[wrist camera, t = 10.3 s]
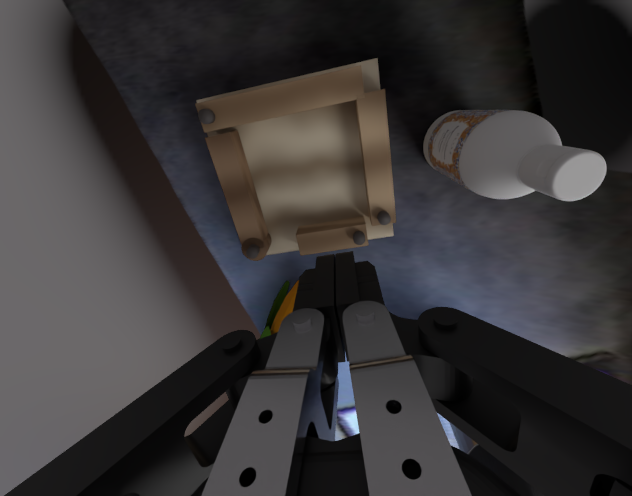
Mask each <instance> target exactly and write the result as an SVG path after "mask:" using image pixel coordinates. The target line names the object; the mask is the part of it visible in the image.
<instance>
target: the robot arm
mask: <svg viewBox="0 0 632 496" xmlns="http://www.w3.org/2000/svg"><path fill="white" fill-rule="evenodd" d="M335 256H336V259H335ZM345 352H346V357H347V361H349V363H350V365H349V367H350V374H351V380H352V387H353V393H354V399H355V406H356V412H357V419H358V425H359V432H360V433H359V434H356V435H353V436H351V437H348V438H345V439H342V440H339V441H335V429H336V415H337V401H338V387H339V381H338V377H337V375H338V362H345ZM224 392H226V394H227V396H228V398H229V400H228V401H227V402H226V403H225V404H224V405H223V406H222V407H220V408H219V409H218V410H217V411H216V412H215V413H214V414H213V415H212V416H211V417H209V418H208V419H207V420H206V421H205V422H204V423H203V424H202V425H201V426H199V427H198V428H197V429H196V430H195V431H194V432H193V433H192V434H190V435H189V436H186V437H184V434H185V430H186V428H187V426H188V425H189V424H190V422H191V421H192V420H193V419H194V418H196V416H198V415H199V414H200V413H201V412H202V411H204V410H205V409H206V408H207V407H208V406H209V405H210V404H212V403H213V402H214V401H215V400H216V399H217V398H218V397H220V395H222V394H223V393H224ZM436 412H437V413H439V414H440V415H441V416H442V417H444V418H445V419H446V420H448V421H449V422H450V425H451V428H452V430H453V433H454V436H455V438H456V441H457V444H458V446H459V449H460V450H459V449H457V448H455V447H453V446H450V443H449V441H448V439H447V436H446V434H445V431H444V429H443V427H442V424H441V422H440V420H439V417H438V415H437V413H436ZM4 496H632V385H630V384H628V383H625V382H623V381H621V380H618V379H616V378H614V377H611V376H609V375H607V374H605V373H602V372H600V371H598V370H595V369H593V368H591V367H588V366H586V365H584V364H582V363H579V362H577V361H575V360H572V359H570V358H568V357H566V356H563V355H561V354H559V353H556V352H554V351H552V350H549V349H547V348H545V347H543V346H540V345H538V344H536V343H533V342H531V341H529V340H526V339H524V338H522V337H520V336H517V335H515V334H513V333H510V332H508V331H506V330H503V329H501V328H499V327H497V326H494V325H492V324H490V323H487V322H485V321H483V320H480V319H478V318H476V317H474V316H471V315H469V314H467V313H464V312H462V311H460V310H457V309H453V308H448V307H436V308H431V309H428V310H426V311H425V312H423V313H422V314H421V315H420V316H419V319H418V320H413V319H405V318H401V317H398V316H395V315H393V314H392V313H390V312H389V311H388V309H387V308H386V307H385V305H384V301H383V297H382V293H381V289H380V285H379V282H378V278H377V274H376V270H375V266H373V265H372V264H371V263H370V262H368V261H364V262H357V263H355V261H354V255H353V251H351V252H344V253H337V254H336V255H334V254H331V255H324V256H318V257H317V259H316V267H315V269H309V270H305V272H304V273H303V274H302V275H301V276H300V278H299V283H298V288H297V293H296V297H295V302H294V307H293V312H292V313H290V314H288V315H287V316H286V317H285V318H284V319H283V321H282V322H281V325H280V328H279V331H278V332H276V333H274V334H272V335H269V336H266V337H264V338H261V339H258V340H256V338H255V335H254V334H253V333H252V332H250V331H247V330H238V331H234V332H231V333H228V334H226V335H224V336H223V337H221V338H220V339H218V340H217V341H216V342H214V343H213V344H211V345H210V346H209V347H207V348H206V349H205V350H203V351H202V352H201V353H199V354H198V355H196V356H195V357H194V358H192V359H191V360H190V361H188V362H187V363H185V364H184V365H183V366H181V367H180V368H179V369H177V370H176V371H175V372H173V373H172V374H170V375H169V376H168V377H166V378H165V379H163V380H162V381H161V382H159V383H158V384H157V385H155V386H154V387H152V388H151V389H150V390H148V391H147V392H146V393H144V394H143V395H142V396H140V397H139V398H137V399H136V400H135V401H133V402H132V403H131V404H129V405H128V406H126V407H125V408H124V409H122V410H121V411H120V412H118V413H117V414H115V415H114V416H113V417H111V418H110V419H109V420H107V421H106V422H104V423H103V424H102V425H100V426H99V427H98V428H96V429H95V430H94V431H92V432H91V433H89V434H88V435H87V436H85V437H84V438H83V439H81V440H80V441H79V442H77V443H76V444H74V445H73V446H72V447H70V448H69V449H67V450H66V451H65V452H64V453H62V454H61V455H59V456H58V457H56V458H55V459H54V460H52V461H51V462H50V463H48V464H47V465H46V466H44V467H43V468H41V469H40V470H39V471H37V472H36V473H35V474H33V475H32V476H30V477H29V478H28V479H26V480H25V481H24V482H22V483H21V484H19V485H18V486H17V487H15V488H14V489H13V490H11V491H10V492H8V493H7V494H6V495H4Z"/></svg>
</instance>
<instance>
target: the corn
mask: <svg viewBox="0 0 632 496" xmlns="http://www.w3.org/2000/svg"><path fill="white" fill-rule="evenodd" d="M298 283H299V280H298V281H297V282H296V284H295V285H294V286H293V288H292V289H291V290H290V292H289V293H288V294H287V291H288V287H289V281H286V282H285V283H284V285H283V287H282V288H281V290H280V292H279V293H278V295H277V297H276V299H275V300H274V303H273V306H272V308H271V311H270V314H269V316H268V319H267V323H266V326H265V329H264V331H263V333H262V335H261V337H260V339H261V338H264V337H266V336H269V335H272V334H274V333H276V332H278V331H279V328H280V325H281V322H282V321H283V319H284V318H285V317H286V316H287V315H288V314H290V313H292V312H293V307H294V302H295V297H296V293H297V288H298ZM286 294H287V296H286Z"/></svg>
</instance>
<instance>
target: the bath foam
mask: <svg viewBox="0 0 632 496" xmlns="http://www.w3.org/2000/svg"><path fill="white" fill-rule="evenodd" d="M423 151H424V156H425V158H426V160H427V162H428V163H429V165H430V166H431V167H433V168H434V169H435V170H437V171H439V172H440V173H442V174H444V175H445V176H447V177H449V178H450V179H452V180H454V181H456V182H457V183H459V184H461V185H462V186H464V187H466V188H467V189H469V190H471V191H473V192H474V193H476V194H479V195H482V196H485V197H489V198H494V199H512V198H517V197H521V196H524V195H527V194H529V193H532V192H534V191H539V192H541V193H544V194H546V195H549V196H551V197H554V198H556V199H559V200H563V201H575V200H579V199H582V198H584V197H586V196H588V195H590V194H591V193H592V192H594V191H595V190H596V189H597V188H598V187H599V186H600V184H601V183H602V181H603V179H604V177H605V174H606V162H605V160H604V158H603V157H602V156H601V155H600V154H598V153H597V152H594V151H591V150H585V149H579V148H572V147H566V146H562V143H561V140H560V137H559V135H558V133H557V131H556V130H555V128H554V127H553V126H552V125H551V124H550V123H549V122H548V121H546V120H545V119H543V118H542V117H540V116H538V115H535V114H533V113H530V112H526V111H521V110H457V111H451V112H448V113H446V114H444V115H442V116H441V117H439V118H438V119H437V120H436V121H434V123H433V124H432V125H431V126H430V128H429V129H428V131H427V133H426V135H425V138H424V143H423Z"/></svg>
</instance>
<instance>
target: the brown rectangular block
mask: <svg viewBox="0 0 632 496" xmlns="http://www.w3.org/2000/svg"><path fill="white" fill-rule="evenodd" d="M205 140H206V143H207V146H208V149H209V152H210V155H211V158H212V160H213V163H214V166H215V169H216V172H217V175H218V178H219V181H220V184H221V187H222V190H223V192H224V195H225V198H226V201H227V204H228V207H229V210H230V213H231V216H232V219H233V221H234V224H235V227H236V230H237V233H238V236H239V239H240V242H241V245H242V252H243V254H244V255H245V256H246V257H247V258H248V259H250V260H253V261H258V260H261V259H263V258H264V257H265V256H266V254H267V252H268V250H269V247H270V245H271V242H272V239H271V236H270V234H269V233H268V230H267V227H266V223H265V220H264V217H263V213H262V210H261V207H260V203H259V200H258V197H257V193H256V190H255V186H254V183H253V180H252V176H251V173H250V170H249V166H248V163H247V159H246V156H245V153H244V149H243V146H242V143H241V139H240V136H239V133H238V131H233V132H229V133H224V134H220V135H215V136H211V137H207V138H205Z"/></svg>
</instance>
